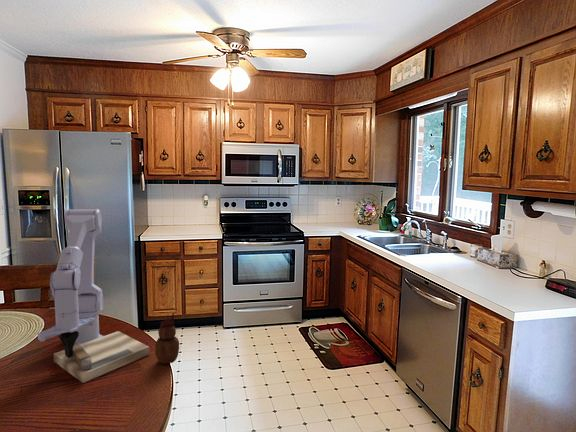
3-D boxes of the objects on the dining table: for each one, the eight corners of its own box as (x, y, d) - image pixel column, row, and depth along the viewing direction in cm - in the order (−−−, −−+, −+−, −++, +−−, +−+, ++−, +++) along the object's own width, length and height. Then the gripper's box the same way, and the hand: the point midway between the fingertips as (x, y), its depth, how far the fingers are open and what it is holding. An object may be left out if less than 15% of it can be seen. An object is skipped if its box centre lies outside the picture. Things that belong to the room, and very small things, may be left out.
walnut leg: (93, 367, 102) (92, 358, 101) (82, 370, 100) (82, 362, 99) (77, 349, 111) (76, 341, 111) (67, 352, 110) (67, 344, 109)
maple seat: (54, 361, 110) (53, 353, 109) (118, 338, 126) (118, 330, 125) (82, 383, 99) (82, 373, 99) (149, 354, 115) (149, 346, 115)
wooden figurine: (181, 356, 114) (180, 310, 112) (176, 366, 109) (175, 317, 107) (159, 356, 114) (158, 309, 112) (153, 366, 108) (151, 317, 106)
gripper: (44, 322, 97) (46, 371, 98) (99, 307, 108) (101, 350, 110) (33, 315, 101) (36, 362, 102) (88, 301, 112) (89, 343, 114)
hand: (69, 356), depth 106 cm, fingers closed, pressing on walnut leg
